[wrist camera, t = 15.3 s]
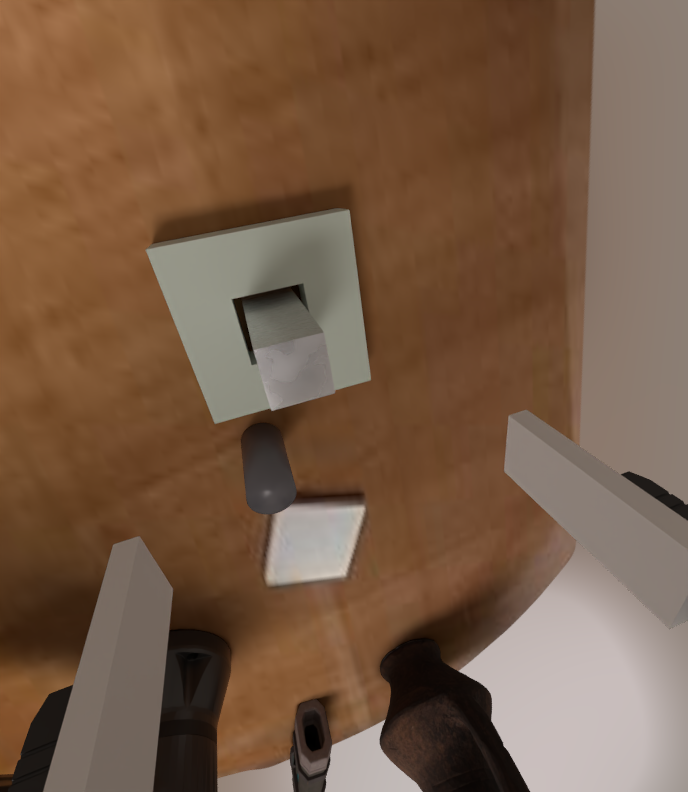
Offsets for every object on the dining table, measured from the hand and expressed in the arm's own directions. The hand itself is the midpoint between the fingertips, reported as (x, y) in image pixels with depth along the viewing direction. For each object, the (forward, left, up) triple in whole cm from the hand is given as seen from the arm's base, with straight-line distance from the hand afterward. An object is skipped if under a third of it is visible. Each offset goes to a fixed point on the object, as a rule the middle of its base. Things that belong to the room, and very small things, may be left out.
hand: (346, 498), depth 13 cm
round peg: (-4, -12, -22) cm, 25 cm away
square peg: (0, 0, -22) cm, 22 cm away
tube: (-13, -80, -23) cm, 84 cm away
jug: (+9, -64, -22) cm, 68 cm away
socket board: (0, 0, -22) cm, 22 cm away
